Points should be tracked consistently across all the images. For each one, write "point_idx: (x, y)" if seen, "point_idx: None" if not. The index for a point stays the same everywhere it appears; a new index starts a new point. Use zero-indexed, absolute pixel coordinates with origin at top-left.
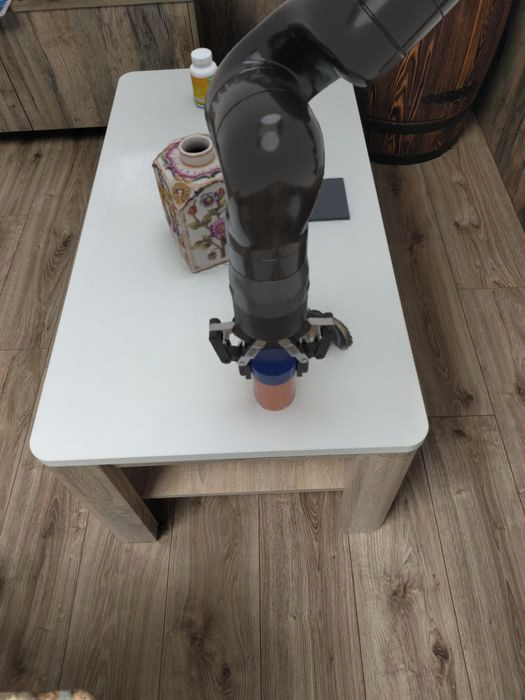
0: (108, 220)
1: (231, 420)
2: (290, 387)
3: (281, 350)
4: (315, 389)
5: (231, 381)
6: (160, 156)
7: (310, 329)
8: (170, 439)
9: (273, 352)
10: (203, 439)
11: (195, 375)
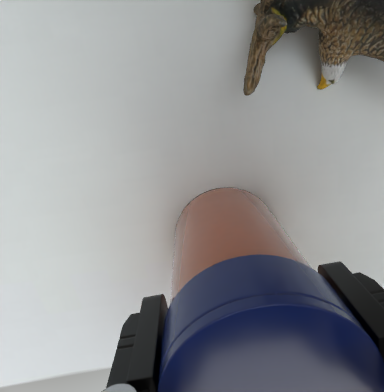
0: None
1: (138, 310)
2: None
3: (312, 376)
4: (325, 212)
5: (110, 221)
6: None
7: (341, 45)
8: (24, 363)
9: (273, 390)
10: (91, 353)
11: (11, 219)
